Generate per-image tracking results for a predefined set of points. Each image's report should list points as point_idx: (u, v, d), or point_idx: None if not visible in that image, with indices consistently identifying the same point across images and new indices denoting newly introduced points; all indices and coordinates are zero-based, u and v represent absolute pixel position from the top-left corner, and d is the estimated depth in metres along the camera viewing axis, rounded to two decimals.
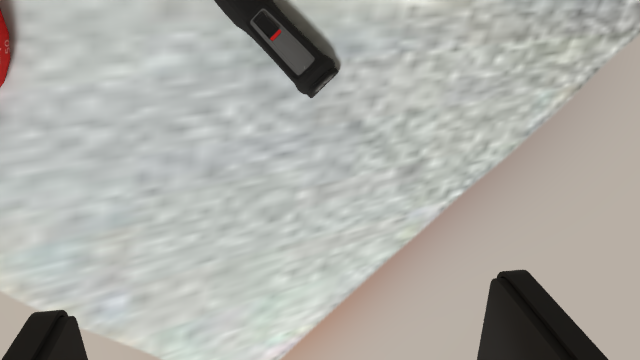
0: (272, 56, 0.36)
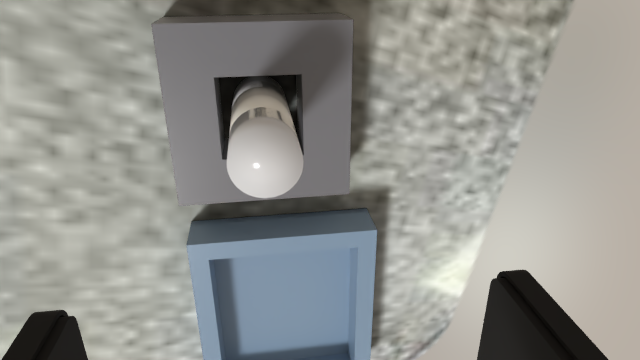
0: None
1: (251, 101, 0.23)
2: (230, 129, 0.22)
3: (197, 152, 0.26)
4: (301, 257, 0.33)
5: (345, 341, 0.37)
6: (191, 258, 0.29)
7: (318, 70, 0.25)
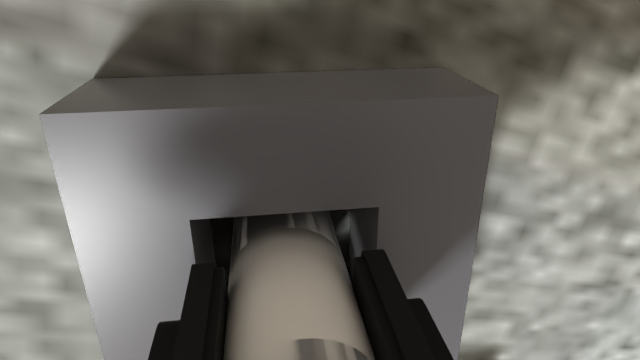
0: None
1: (273, 297, 0.10)
2: None
3: None
4: None
5: None
6: None
7: (413, 198, 0.12)
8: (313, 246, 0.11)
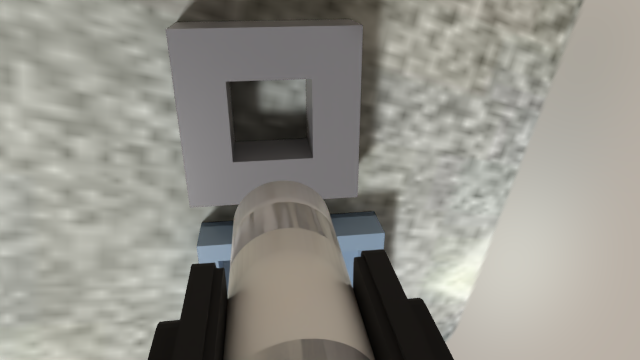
0: None
1: (273, 297, 0.10)
2: None
3: (208, 155, 0.26)
4: None
5: None
6: (201, 259, 0.29)
7: (328, 75, 0.25)
8: (313, 246, 0.11)
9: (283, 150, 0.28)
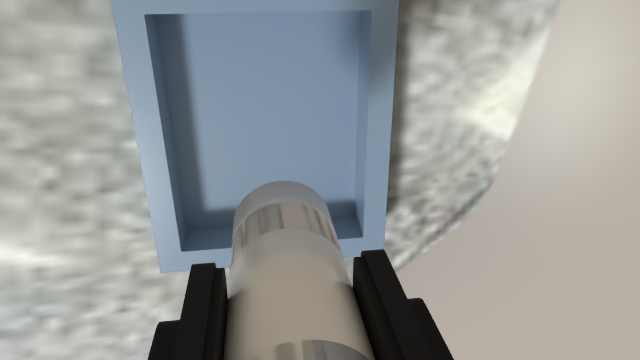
0: None
1: (273, 298, 0.10)
2: None
3: None
4: (288, 52, 0.23)
5: (351, 197, 0.27)
6: (117, 9, 0.19)
7: None
8: (313, 247, 0.11)
9: None
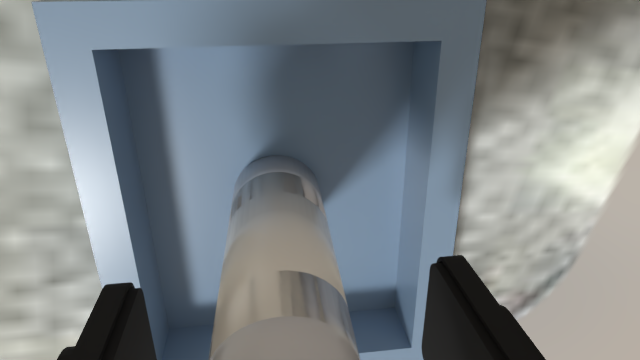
0: None
1: (260, 242, 0.11)
2: (216, 310, 0.11)
3: None
4: (310, 96, 0.16)
5: (391, 284, 0.20)
6: (48, 42, 0.12)
7: None
8: (298, 206, 0.13)
9: None
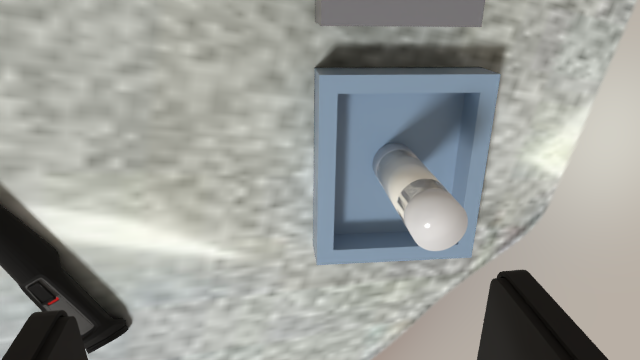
0: None
1: (411, 171, 0.29)
2: (399, 194, 0.28)
3: None
4: (415, 115, 0.33)
5: None
6: (322, 90, 0.30)
7: None
8: (418, 161, 0.31)
9: None
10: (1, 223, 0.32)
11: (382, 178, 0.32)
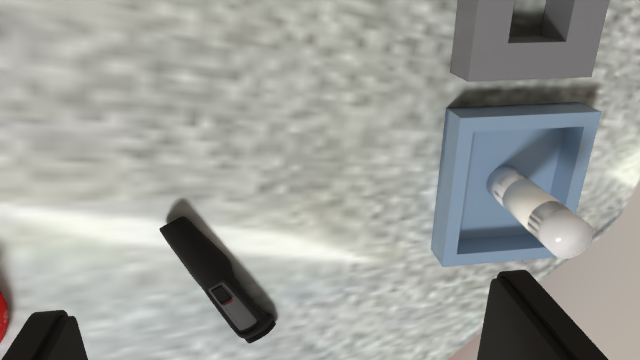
0: (221, 313, 0.42)
1: (536, 194, 0.36)
2: (530, 213, 0.35)
3: (492, 36, 0.34)
4: (524, 142, 0.41)
5: None
6: (461, 130, 0.37)
7: None
8: (535, 184, 0.38)
9: (534, 39, 0.36)
10: (196, 239, 0.39)
11: (503, 197, 0.39)
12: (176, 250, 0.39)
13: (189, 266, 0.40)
